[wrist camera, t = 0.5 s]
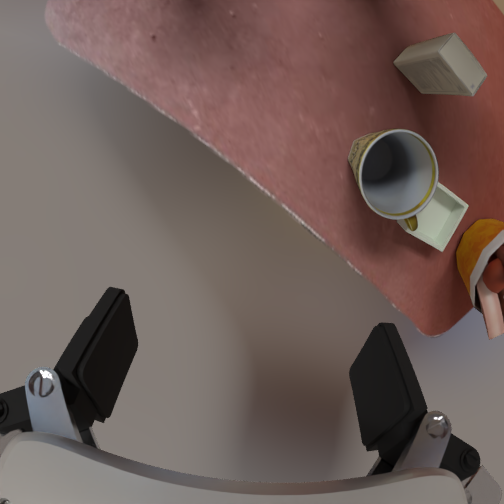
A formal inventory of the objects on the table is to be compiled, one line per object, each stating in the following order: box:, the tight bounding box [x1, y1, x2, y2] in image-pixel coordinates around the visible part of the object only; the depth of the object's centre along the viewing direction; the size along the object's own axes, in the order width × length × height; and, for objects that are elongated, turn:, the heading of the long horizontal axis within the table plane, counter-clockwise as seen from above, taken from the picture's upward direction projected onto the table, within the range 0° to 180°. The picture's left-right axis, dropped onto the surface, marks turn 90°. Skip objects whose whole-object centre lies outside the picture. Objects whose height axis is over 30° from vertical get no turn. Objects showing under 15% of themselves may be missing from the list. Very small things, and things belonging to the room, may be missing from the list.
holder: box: [397, 182, 469, 252], centre depth 35 cm, size 9×9×4 cm
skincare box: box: [393, 33, 487, 96], centre depth 21 cm, size 6×4×12 cm
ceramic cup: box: [348, 129, 439, 231], centre depth 30 cm, size 13×10×10 cm
